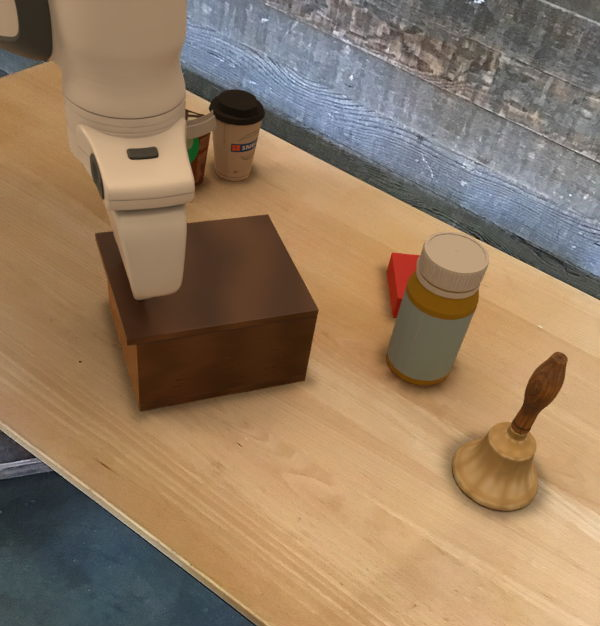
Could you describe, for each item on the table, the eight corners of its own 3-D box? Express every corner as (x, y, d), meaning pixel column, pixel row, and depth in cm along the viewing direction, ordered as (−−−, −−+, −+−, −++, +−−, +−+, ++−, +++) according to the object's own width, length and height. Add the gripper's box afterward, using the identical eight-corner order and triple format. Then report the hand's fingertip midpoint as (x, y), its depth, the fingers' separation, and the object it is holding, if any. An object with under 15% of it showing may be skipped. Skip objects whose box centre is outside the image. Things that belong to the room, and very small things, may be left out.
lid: (127, 346, 65) (124, 302, 61) (95, 239, 73) (91, 195, 70) (317, 316, 70) (325, 274, 66) (267, 220, 79) (272, 178, 75)
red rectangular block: (451, 322, 86) (467, 279, 81) (392, 317, 85) (405, 273, 80) (442, 276, 91) (457, 233, 86) (386, 271, 90) (398, 227, 85)
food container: (103, 180, 95) (97, 105, 87) (126, 156, 99) (122, 82, 91) (194, 209, 93) (196, 134, 86) (214, 183, 97) (217, 111, 90)
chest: (139, 411, 72) (136, 345, 65) (109, 307, 80) (103, 239, 74) (305, 380, 77) (317, 316, 70) (259, 286, 86) (267, 220, 79)
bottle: (459, 359, 82) (505, 248, 71) (433, 399, 77) (477, 287, 66) (402, 332, 84) (437, 219, 72) (373, 368, 79) (406, 254, 68)
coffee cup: (195, 164, 100) (197, 92, 92) (238, 151, 103) (243, 80, 96) (227, 192, 97) (231, 119, 89) (269, 177, 100) (277, 105, 93)
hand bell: (462, 428, 75) (517, 309, 63) (543, 459, 74) (615, 343, 62) (442, 491, 70) (498, 374, 58) (529, 525, 69) (604, 412, 57)
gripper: (62, 61, 63) (77, 202, 73) (110, 206, 51) (120, 351, 61) (138, 58, 65) (143, 196, 75) (202, 197, 53) (197, 339, 63)
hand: (133, 267), depth 68 cm, fingers closed on lid, 6 cm apart
